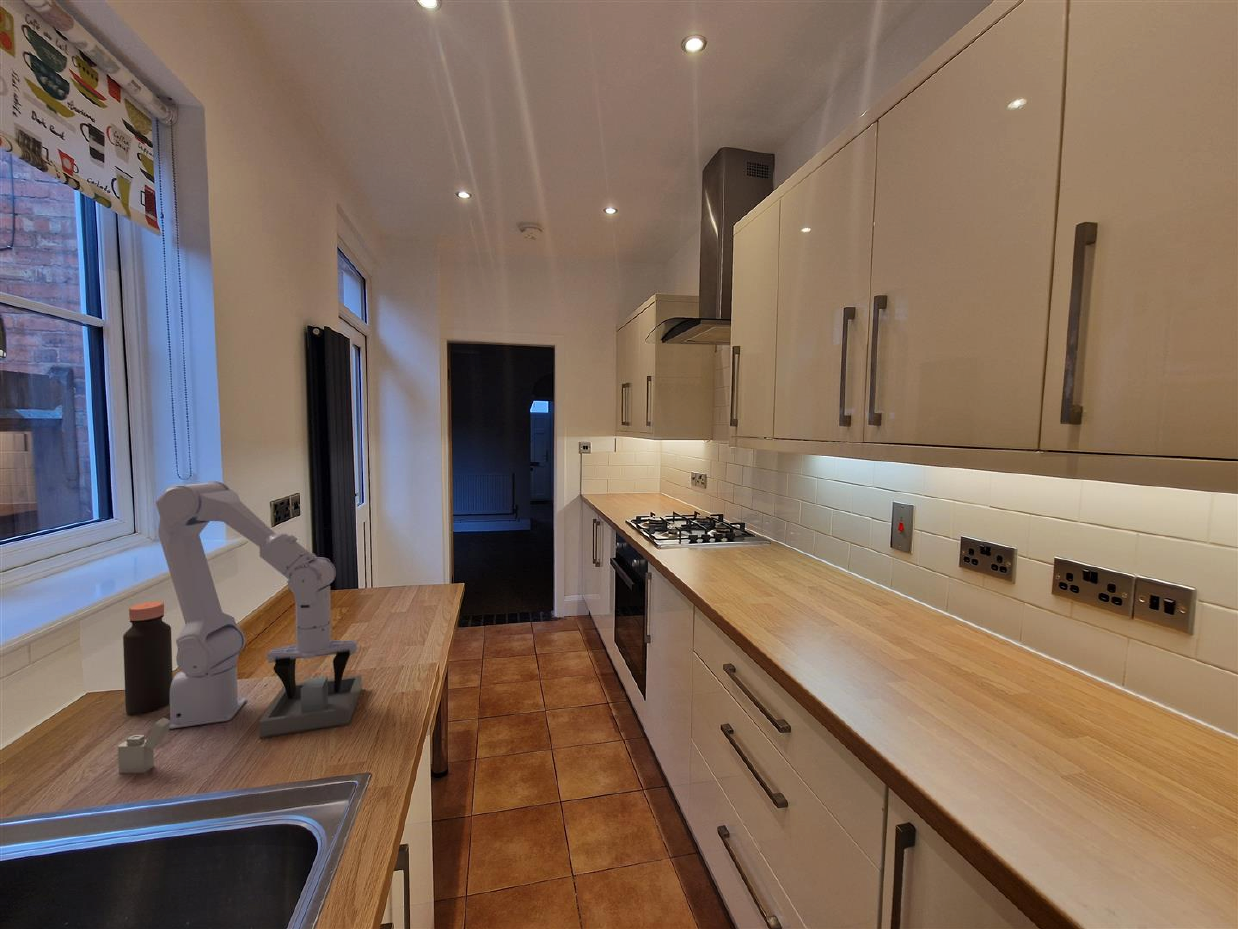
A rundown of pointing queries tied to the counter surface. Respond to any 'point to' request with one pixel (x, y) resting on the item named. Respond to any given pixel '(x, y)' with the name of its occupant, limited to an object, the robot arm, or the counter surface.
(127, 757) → the lighter
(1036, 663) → the counter surface
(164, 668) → the bottle
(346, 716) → the dark grey square tray
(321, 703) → the tall grey cuboid
